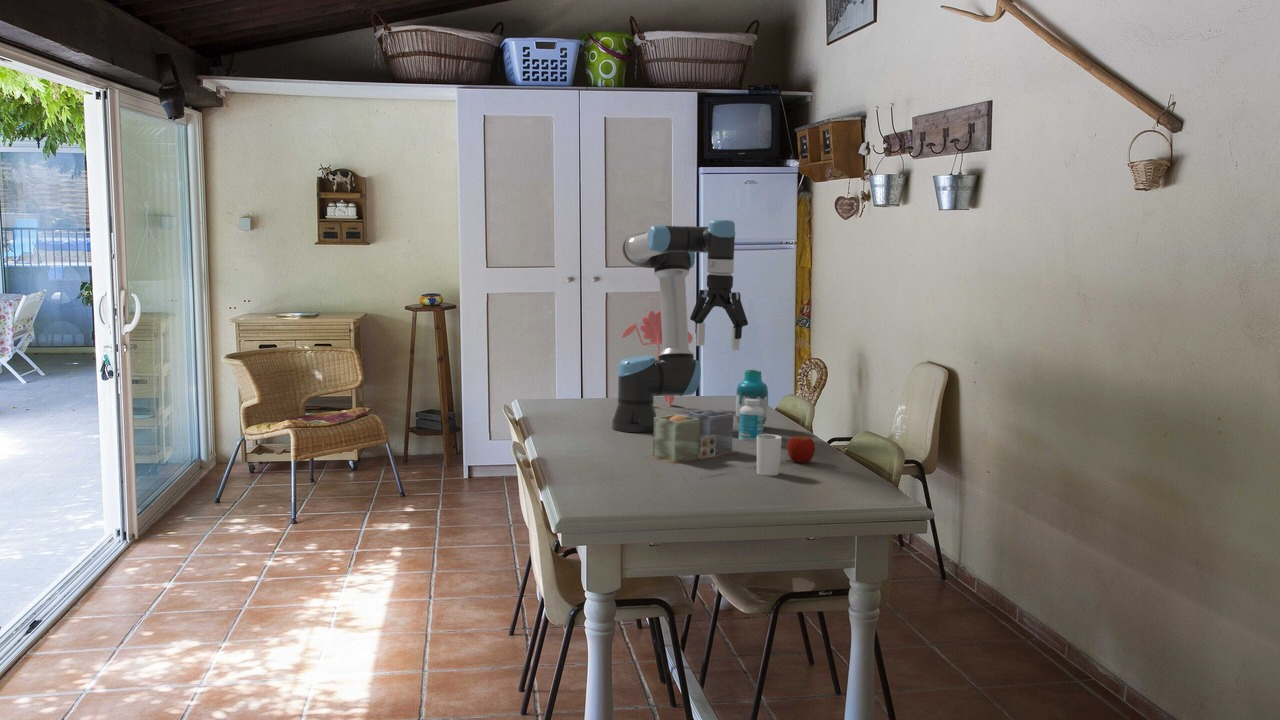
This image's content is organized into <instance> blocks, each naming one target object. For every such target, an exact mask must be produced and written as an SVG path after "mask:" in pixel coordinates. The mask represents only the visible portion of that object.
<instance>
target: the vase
mask: <svg viewBox="0 0 1280 720" xmlns="http://www.w3.org/2000/svg"><path fill="white" fill-rule="evenodd" d="M743 376H744V377H743V381H742V380H741V381H740V382H739V383H738V384H737V387H736V393H735V419H736V422H737V424H738V425H739V416H740V409H741V407H743V406H745V403H744V402H745V399H758V400H760V405H759V407H761V408H763V410H764V422H763V426H764V424H765V423H766V421H767V418H768V417H767V416H768V409H769V408H768V407H769V391H768V390H769V389H768V385H767V384H766V383H765V382H763V380H762V371H761V370H759V369H746V370H744V375H743Z"/></svg>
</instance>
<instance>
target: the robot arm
mask: <svg viewBox="0 0 1280 720" xmlns="http://www.w3.org/2000/svg"><path fill="white" fill-rule="evenodd" d="M735 240H736V222H734V220H729V219H728V220H725V219H721V220H720V219H711V220H710V221H709V223H708V226H685V225H684V226H683V225H681V226H679V225H664V224H660V225H652V226H650V227H649V229H648V231H646V232H636V233H632V234H630V235H628V236H627V237H626V238H625V240H624V241H623V244H622V253H623V256H624V258H625V260H626V261H627V262H629V263H630V264H631V265H634V266H636V267H639V268H643V269H644V268H646V269H647V268H648V269H653V270H654V276H656V277H657V278H658V280H659V298H660V311H661V325H662V345H661V346H662V351H661V352H659V355H658V358H657V360H656V357H655V356H653V355H637V356H630V357H626V358H623V359H622V360H621V361H620V362H619V364H618V372H617V376H618V377H617V378H618V379H617V385H618V387H617V405H616V409H615V412H614V416H613V418H612V420H611V428H612V429H613V430H615V431H618V432H626V433H650V432H654V417H657V414H656V410H655V405H654V400H655V397H664V396H674V397H677V396H679V397H683V396H692V395H694V394H695V393H696V392H697V390H698V388H699V385H700V382H701V381H700V380H701V375H702V374H701V373H702V369H701V364H700V361H699V360H697V359H695V358H694V357H695V355H694V353H693V352H692V351H691V350H690V349H689V343H688V332H689V330H688V309H687V307H688V306H687V290H686V288H687V287H686V277H687V276H688V275H689V274H690V269H692V268H693V267H694V266H695V260H696V253H702V254H705V253H706V254H707V268H706V269H707V271H706V272H707V273H709V274H707V275H706V287H707V289H700V290H699V291H698V296H697V300H696V301H695V302H696V303H695V305H694V307H693V310H692V312H691V315H690V317H689V319H690V320H691V321H693V322H694V324H695V328H694V329H695V334H696V336H695V337H696V338H695V339H696V344H695V346H696V347H698V346H699V347H700V346H705V339H706V338H705V336H706V322H705V319H707V317H708V315H709V314H710V313H711V311H712V310H713V309H714V307H718V308H722V309H724V310H725V312H726V314H727V315H728V318H729V319H730V321H731V323H732V324H733V326H732V327H731V340H730V341H731V342H730V343H731V345H730V348H731V349H730V351H740V345H741V344H740V340H741V339H742V334H743V332H742V330H743V327H746V326H748V325H749V322H748V319H747V316H746V312H745V309H744V307H743V306H744V305H743V303H742V301H741V293H740V292H737V291H736V292H735V291H733V292H732V288H733V287H734V276H733V275H732V274H733V273H734V267H735V265H734V264H735V242H736V241H735Z"/></svg>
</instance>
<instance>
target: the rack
mask: <svg viewBox="0 0 1280 720" xmlns="http://www.w3.org/2000/svg"><path fill="white" fill-rule="evenodd" d="M704 411H713V412H715V413H716V414H717V416H707V415H702V414H701V413H702V412H704ZM675 415H679V414H669V415H663V416H662V415H661V416H656V417H654V431H653V435H652V436H653V437H652V438H653V440H652V441H653V442H652V454H651V455H645V457H646V458H651V459H654V460H656V461H657V460H659V461H662V462H666V463H668V464H669V463H670V464H672V465H673V464H674V465H679V464H685V463H689V462H695V461H700V460H704V459H709V458H715V457H720V456H724V455H726V456H727V455H731V454H735V453H736V454H737V453H739V450H738V451H737V450H733V434H734V431H733V429H734V413H732V412H731V413H730V412H725V411H720V410H715V409H710V408H709V409H704V410H696V411H689V412H688V416H687V415H683V414H682V415H681V414H680V415H681V416H684V417H685V418H686V419H687V420H686V421H679V422H676V421H671V420H670V418H671V417H673V416H675Z"/></svg>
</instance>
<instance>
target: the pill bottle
mask: <svg viewBox="0 0 1280 720" xmlns="http://www.w3.org/2000/svg"><path fill="white" fill-rule="evenodd" d="M744 403H745V406H743V407H741V409H740V416H739V424H738V440H741V441H745V442H750V443H756V444H757V435H761V434H764V425H763V422H764V410H763V408H761V407H759V405H760V400H758V399H745V402H744Z"/></svg>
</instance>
